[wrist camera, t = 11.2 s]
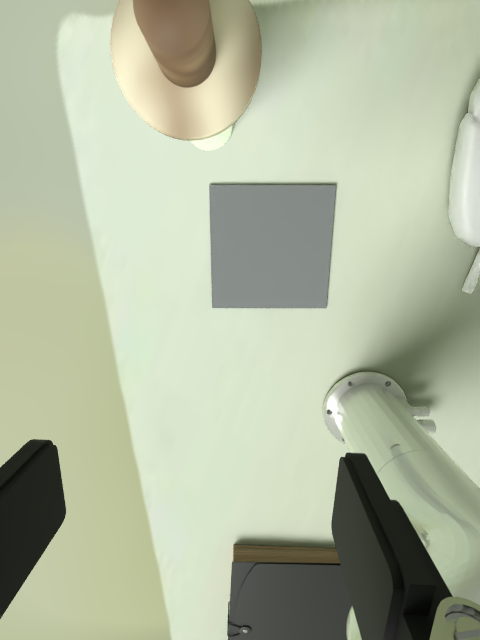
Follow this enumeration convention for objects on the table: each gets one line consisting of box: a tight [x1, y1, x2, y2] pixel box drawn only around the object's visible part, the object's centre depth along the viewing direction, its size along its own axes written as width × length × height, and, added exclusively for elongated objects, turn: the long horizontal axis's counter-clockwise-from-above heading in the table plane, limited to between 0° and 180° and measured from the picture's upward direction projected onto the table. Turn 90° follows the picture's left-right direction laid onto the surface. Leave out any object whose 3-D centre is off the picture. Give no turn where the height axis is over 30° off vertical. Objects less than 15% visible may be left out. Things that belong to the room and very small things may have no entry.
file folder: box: [227, 545, 352, 640], centre depth 60 cm, size 33×4×24 cm
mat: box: [209, 185, 336, 308], centre depth 42 cm, size 16×16×1 cm
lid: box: [110, 0, 262, 141], centre depth 21 cm, size 11×11×6 cm
